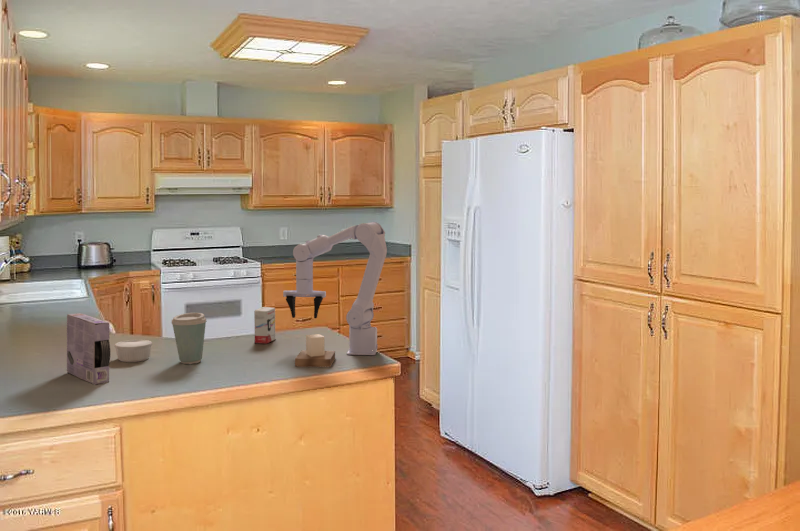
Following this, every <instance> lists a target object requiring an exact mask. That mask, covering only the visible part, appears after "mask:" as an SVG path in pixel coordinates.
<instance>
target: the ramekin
mask: <svg viewBox="0 0 800 531" xmlns="http://www.w3.org/2000/svg"><path fill="white" fill-rule="evenodd" d="M152 345H153V342H152V341H151V340H148V339H147V340H146V339H129V340H128V339H127V340H122V341H118V342H116V343H114V348H115V351H116V357H117V359H118V360H119V362H123V363H138V362H143V361H147V360H148V359H149V358H150V357H151V352H152V351H151V350H152Z"/></svg>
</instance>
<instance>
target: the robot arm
mask: <svg viewBox="0 0 800 531" xmlns="http://www.w3.org/2000/svg"><path fill="white" fill-rule="evenodd" d="M385 234H386V231H385V230H384V228H383V227H382V225H381V224H380V223H379V222H377V221H371V222H367V223H364V222H363V223H359V224H356V225H352V226H349V227H347V228H345V229H342V230H340V231H338V232H336V233H334V234H332V235H330V236H328V235H326V234H318V235H317V236H316V238H313V239H311V240H310V239H308V240H306V241H305V243H299V244H297V245H295V247H293V251H292V255H293V258H294V259H295V269H296V270H295V279H296V280H295V281H296V282H295V289H296V290H295V289H294V290H291V289H290V290H283V292H282V293H283V297H284V298H285V302H286V303H287V305H288V308H289V310H290V314H291V318H292V319H294V318H295V317H296V298H297V297H298V298H299V297H300V298H313V306H314V307H313V310H314V311H313V313H314V314H313V319H317V318H318V314H319V309H320V307H321V304H322V302H323V300H324V298H326V297H327V292H326V290H325V291H324V290H323V291H322V290H314V274H313V273H314V270H313V269H314V258H317V257H318V256H320V255H323V254H326V253H328V252H331V251H332V249H333V247H334V245H338V244H340V243H343V242H345V241H348V240H351V239H352V240H358V241H359V242H360V243H361V244H362V245H363V246H364V247H366V250H367V251H368V253H369V257H368V259H367V262H366V266H365V270H364V273H363V276H362V281H361V283H360V287H359V290H358V294H357V297H356V298H355V300H354V302H353V303H352V305H351V308H350V309H349V311H348V312H347V314H346V316H345V317H346V323H347V324H348V325H349V329H348V330H349V332H348V334H349V336H348V337H349V338H348V340H349V343H348V345H349V346H348V347H349V348H348V350H347V351H346V355H351V356H352V355H353V356H354V355H355V356H376V353H377V351H378V328H377V327H376V326H372V325H371V324H372V323H371V321H373V318H374V316H375V315H374V306H375V304H374V302H373V300H374V297H375V293H376V290H377V287H378V283H379V282H380V281H379V280H380V277H381V274H382V270H383V268H384V264H385V261H386V257H387V253H388V248H387V244H386V238H385V236H386V235H385ZM372 350H373V351H372Z"/></svg>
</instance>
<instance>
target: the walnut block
mask: <svg viewBox="0 0 800 531" xmlns="http://www.w3.org/2000/svg"><path fill="white" fill-rule="evenodd" d="M334 359H336V351H335V350H324V355H323V356H313V357H311V356H309V355H307V354H306V349H305V350H304V349H303V350H300V352H299V353H298V354H297V355H296V357H295V358H294V364H295V365H294V367H302V368H303V367H306V368H331V366H332V365H333V363H334V361H335V360H334Z"/></svg>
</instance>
